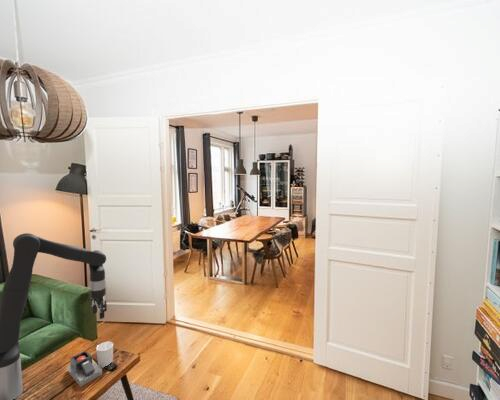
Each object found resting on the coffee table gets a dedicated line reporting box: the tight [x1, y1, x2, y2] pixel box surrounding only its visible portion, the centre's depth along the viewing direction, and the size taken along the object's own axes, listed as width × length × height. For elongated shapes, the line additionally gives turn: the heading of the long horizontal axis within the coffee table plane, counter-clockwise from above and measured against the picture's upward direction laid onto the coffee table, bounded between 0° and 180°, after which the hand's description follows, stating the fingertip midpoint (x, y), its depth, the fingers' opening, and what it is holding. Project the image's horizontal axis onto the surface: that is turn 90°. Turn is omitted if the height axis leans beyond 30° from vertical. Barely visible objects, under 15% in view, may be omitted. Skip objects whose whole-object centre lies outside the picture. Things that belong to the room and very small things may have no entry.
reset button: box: [76, 356, 86, 362], centre depth 137 cm, size 4×4×1 cm
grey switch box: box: [67, 349, 103, 388], centre depth 135 cm, size 10×16×7 cm, turn 53°
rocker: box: [81, 360, 95, 375], centre depth 132 cm, size 4×7×2 cm, turn 53°
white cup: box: [96, 340, 114, 369], centre depth 141 cm, size 8×8×10 cm
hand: (98, 315), depth 145 cm, fingers open, 8 cm apart
